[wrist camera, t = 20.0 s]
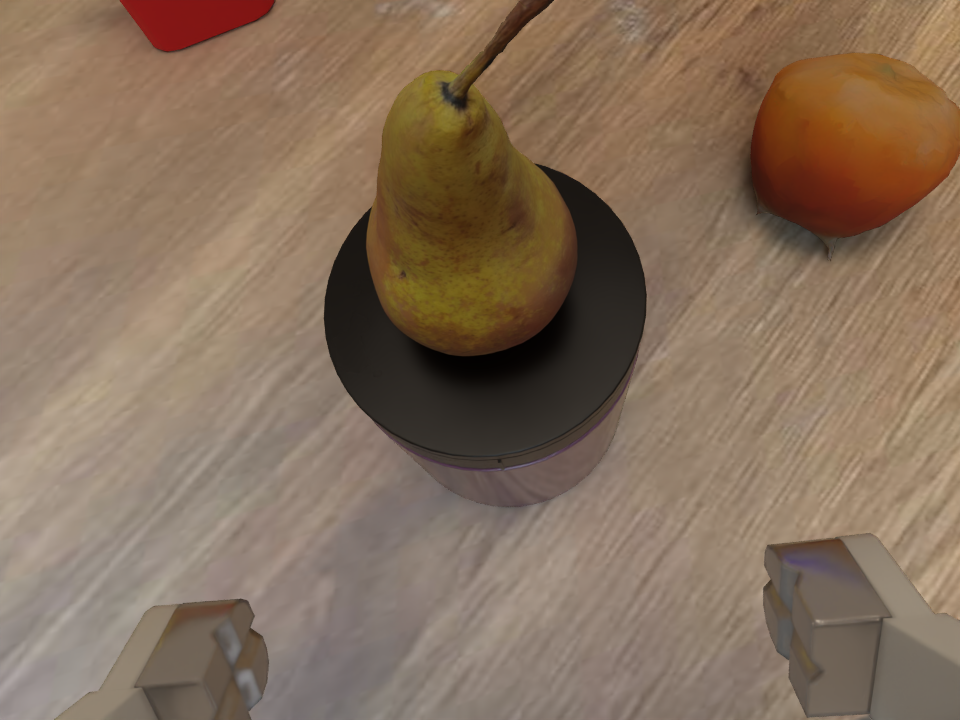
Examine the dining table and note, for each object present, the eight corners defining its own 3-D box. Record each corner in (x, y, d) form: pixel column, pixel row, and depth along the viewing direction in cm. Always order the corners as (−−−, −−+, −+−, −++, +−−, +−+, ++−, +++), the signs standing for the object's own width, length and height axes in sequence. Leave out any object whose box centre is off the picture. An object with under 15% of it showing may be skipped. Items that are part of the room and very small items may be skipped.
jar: (639, 493, 30) (674, 440, 20) (408, 520, 31) (332, 482, 21) (602, 280, 33) (616, 145, 23) (394, 309, 34) (323, 190, 24)
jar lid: (666, 451, 21) (675, 438, 20) (346, 488, 22) (326, 478, 20) (614, 170, 25) (618, 136, 23) (337, 210, 25) (320, 180, 24)
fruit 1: (482, 180, 23) (399, -229, 12) (613, 293, 21) (667, -62, 10) (353, 294, 22) (130, -25, 11) (478, 421, 20) (368, 197, 9)
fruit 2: (692, 234, 32) (772, 57, 26) (736, 170, 37) (811, 11, 32) (869, 313, 30) (997, 138, 24) (890, 233, 35) (998, 75, 30)
